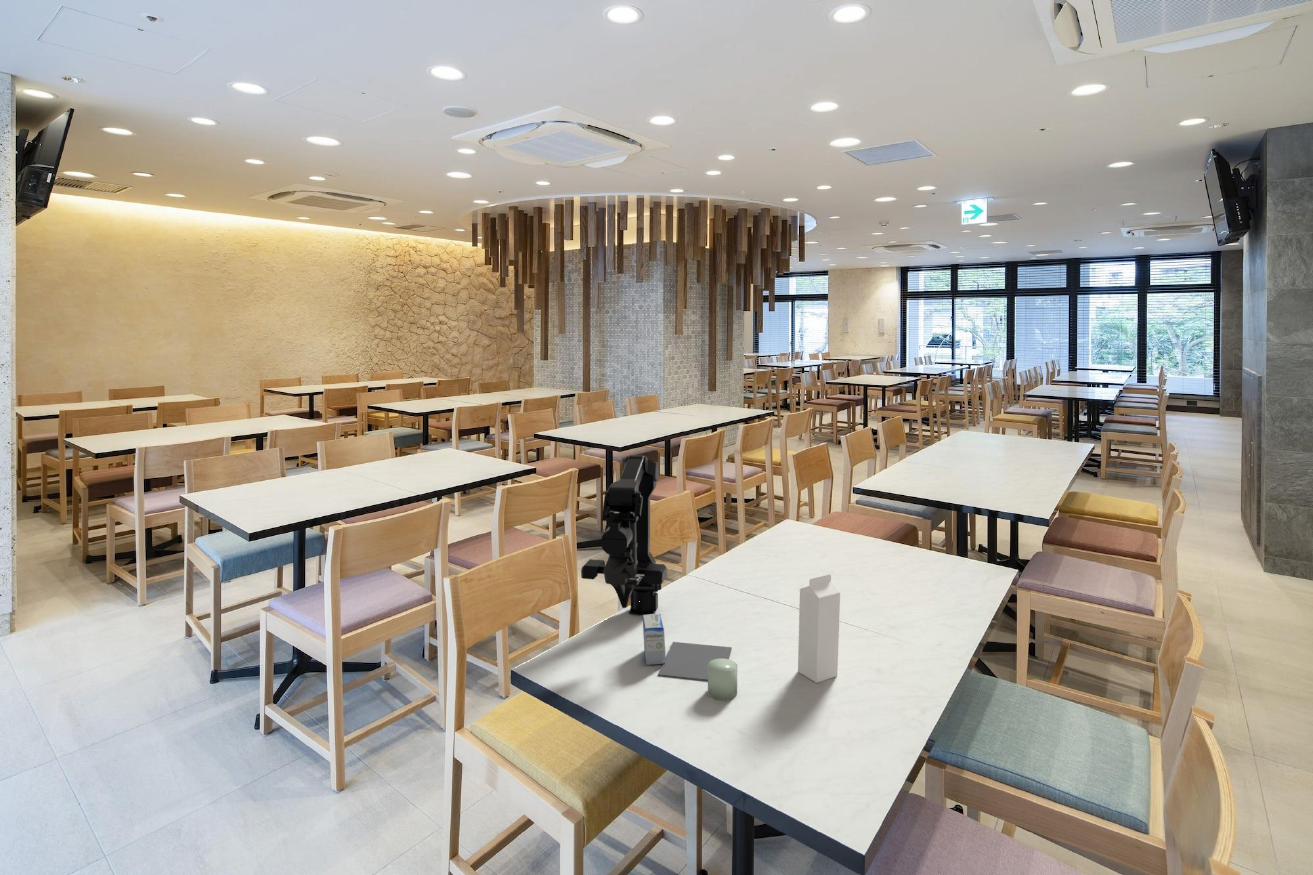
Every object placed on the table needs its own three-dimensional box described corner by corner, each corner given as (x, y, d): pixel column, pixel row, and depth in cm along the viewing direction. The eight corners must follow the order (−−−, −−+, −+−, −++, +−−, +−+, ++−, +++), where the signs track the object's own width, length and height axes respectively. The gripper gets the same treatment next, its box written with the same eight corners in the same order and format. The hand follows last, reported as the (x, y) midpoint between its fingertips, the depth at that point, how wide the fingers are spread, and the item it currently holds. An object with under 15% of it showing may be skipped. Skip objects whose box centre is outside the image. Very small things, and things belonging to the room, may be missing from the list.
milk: (837, 676, 148) (841, 578, 144) (816, 683, 145) (819, 583, 141) (817, 664, 153) (821, 569, 150) (796, 671, 150) (800, 574, 147)
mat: (657, 675, 149) (657, 674, 149) (672, 642, 164) (672, 641, 164) (722, 682, 146) (722, 681, 146) (731, 648, 161) (731, 647, 161)
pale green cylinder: (705, 698, 139) (705, 670, 138) (710, 683, 145) (710, 657, 144) (735, 702, 138) (735, 674, 137) (738, 686, 144) (738, 660, 143)
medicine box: (644, 649, 161) (641, 614, 159) (663, 648, 161) (661, 612, 160) (646, 665, 153) (644, 628, 152) (666, 663, 153) (664, 626, 152)
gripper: (571, 549, 149) (573, 618, 151) (656, 555, 145) (656, 625, 147) (588, 534, 159) (589, 599, 162) (667, 539, 155) (667, 605, 158)
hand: (624, 607), depth 157 cm, fingers closed
